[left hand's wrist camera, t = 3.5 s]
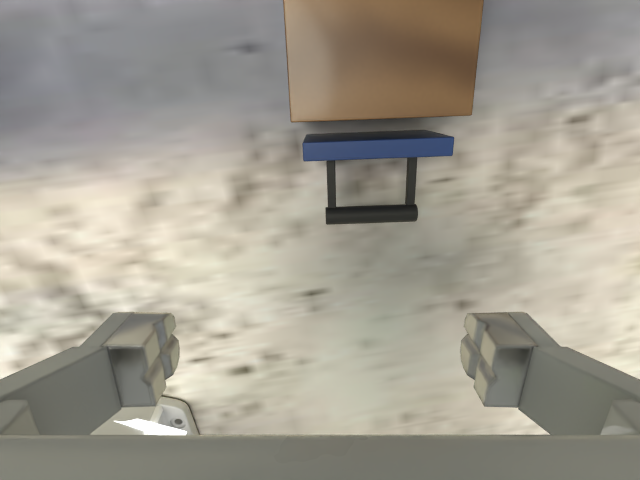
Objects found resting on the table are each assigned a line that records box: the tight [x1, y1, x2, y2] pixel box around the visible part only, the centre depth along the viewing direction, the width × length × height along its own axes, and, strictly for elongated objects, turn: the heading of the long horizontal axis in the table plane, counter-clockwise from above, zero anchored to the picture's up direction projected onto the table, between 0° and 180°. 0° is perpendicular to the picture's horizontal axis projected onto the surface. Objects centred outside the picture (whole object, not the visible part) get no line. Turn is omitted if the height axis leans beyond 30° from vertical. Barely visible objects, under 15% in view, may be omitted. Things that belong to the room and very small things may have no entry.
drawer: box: [303, 130, 454, 224], centre depth 25 cm, size 21×10×7 cm, turn 2°
